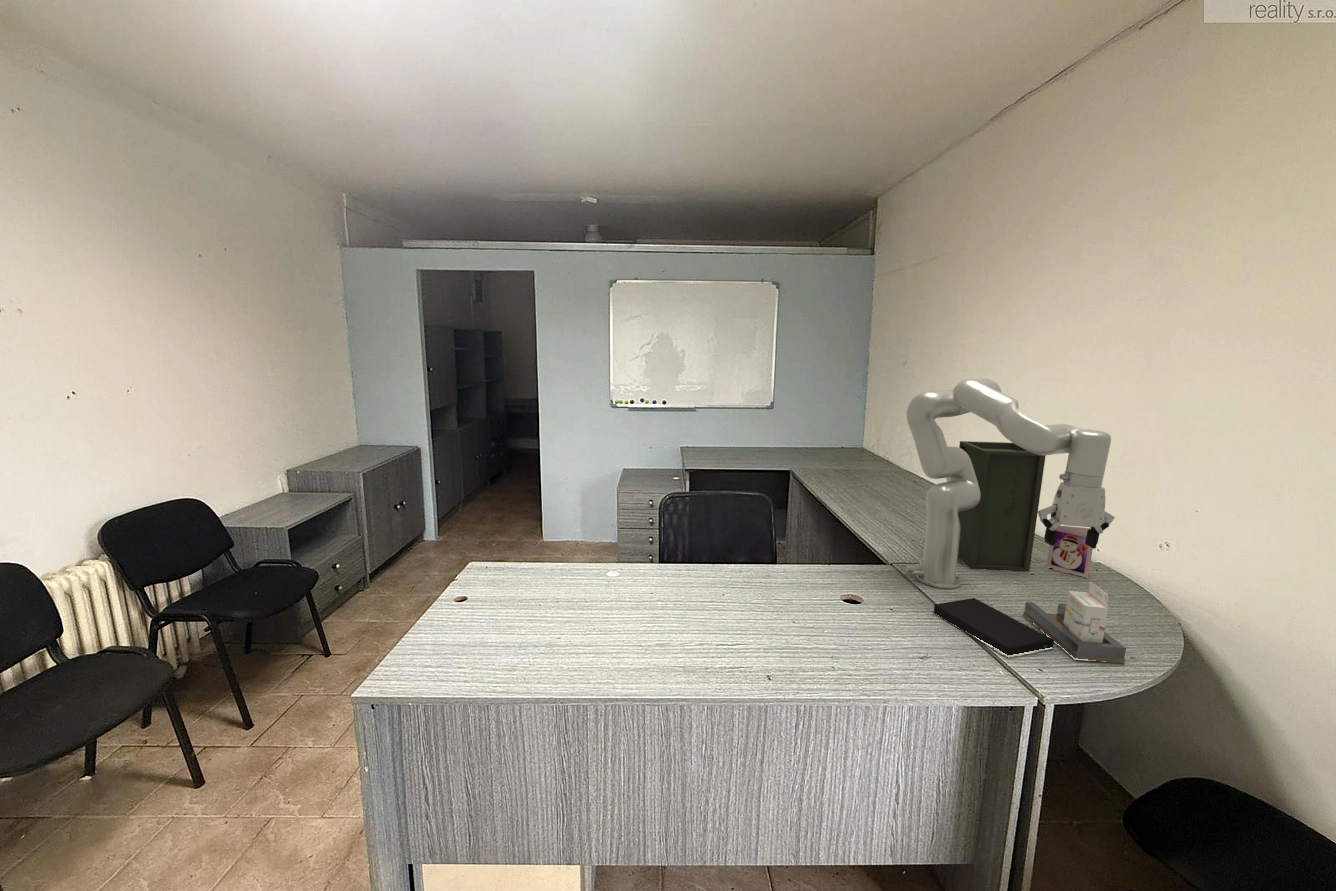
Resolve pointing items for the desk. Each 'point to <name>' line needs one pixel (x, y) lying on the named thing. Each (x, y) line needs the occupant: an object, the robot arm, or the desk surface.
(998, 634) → the external hard drive
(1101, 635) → the ink cartridge box
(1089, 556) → the greeting card
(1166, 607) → the desk surface
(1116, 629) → the desk surface
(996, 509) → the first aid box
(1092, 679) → the desk surface
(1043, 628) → the frame
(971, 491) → the robot arm
